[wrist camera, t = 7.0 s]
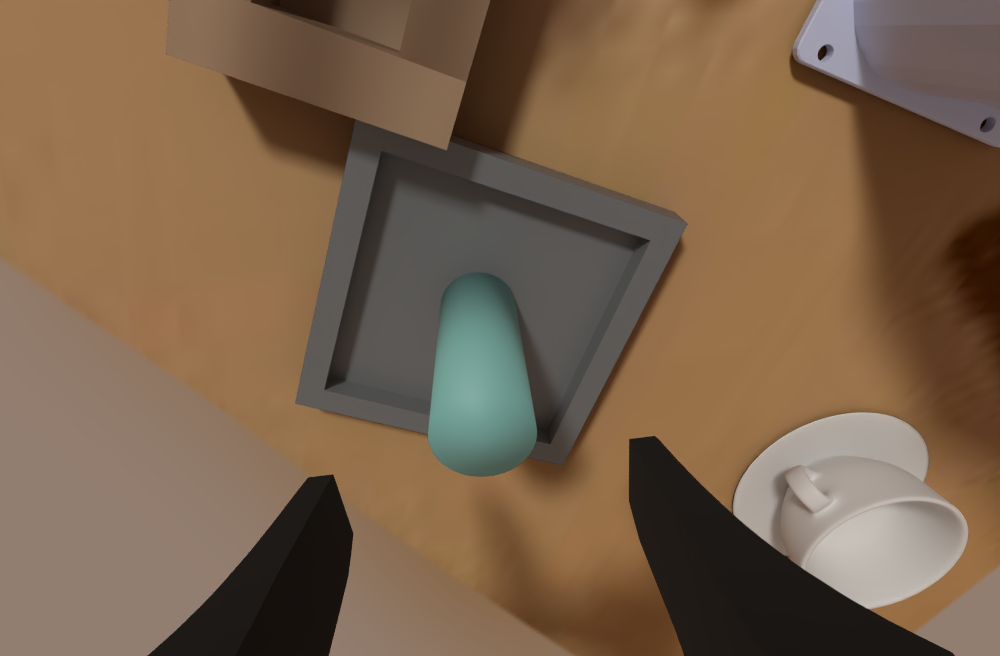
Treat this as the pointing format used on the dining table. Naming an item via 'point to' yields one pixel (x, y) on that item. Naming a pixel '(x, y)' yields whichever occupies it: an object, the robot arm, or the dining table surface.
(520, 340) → the dowel
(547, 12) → the dining table surface
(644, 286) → the tray
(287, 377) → the dining table surface
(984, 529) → the dining table surface
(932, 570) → the teacup
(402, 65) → the block
